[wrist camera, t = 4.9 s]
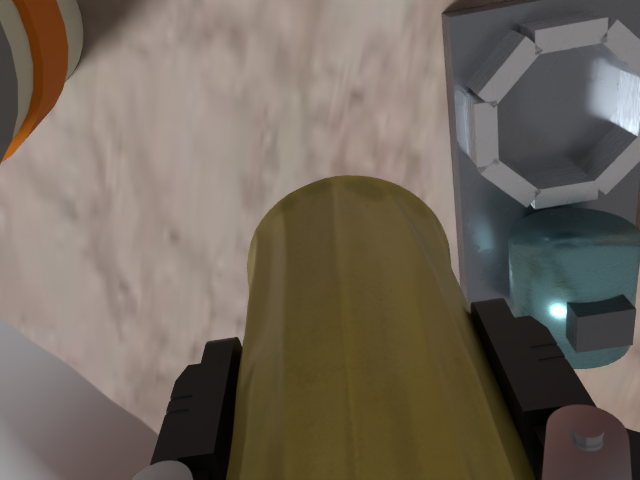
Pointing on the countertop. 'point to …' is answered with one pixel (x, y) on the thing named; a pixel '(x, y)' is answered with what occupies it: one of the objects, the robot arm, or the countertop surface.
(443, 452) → the vase
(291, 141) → the countertop surface
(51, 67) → the reusable coffee cup
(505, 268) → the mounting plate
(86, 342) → the countertop surface
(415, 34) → the countertop surface
